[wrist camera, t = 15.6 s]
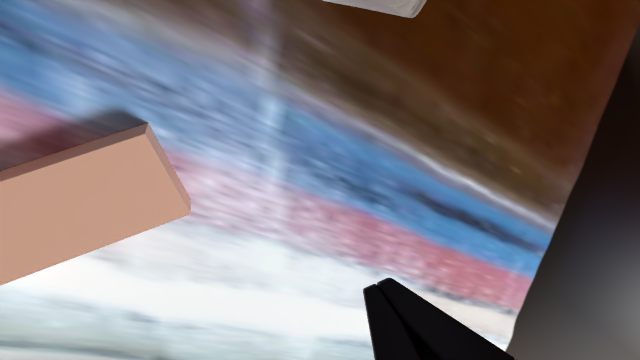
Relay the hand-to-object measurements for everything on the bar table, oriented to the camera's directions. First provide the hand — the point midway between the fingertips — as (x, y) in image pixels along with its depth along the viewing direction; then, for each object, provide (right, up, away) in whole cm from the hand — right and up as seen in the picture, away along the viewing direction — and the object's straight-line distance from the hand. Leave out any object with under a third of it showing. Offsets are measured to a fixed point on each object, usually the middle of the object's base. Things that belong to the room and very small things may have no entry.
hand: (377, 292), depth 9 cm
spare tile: (-10, +4, +9) cm, 13 cm away
